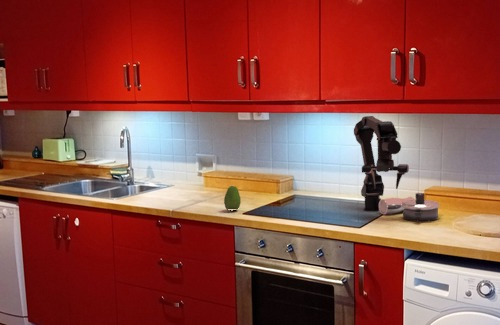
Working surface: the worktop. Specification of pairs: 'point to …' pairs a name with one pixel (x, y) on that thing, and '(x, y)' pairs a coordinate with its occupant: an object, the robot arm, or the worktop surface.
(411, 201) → the lid
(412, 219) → the pot
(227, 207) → the avocado
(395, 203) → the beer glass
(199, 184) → the worktop surface
